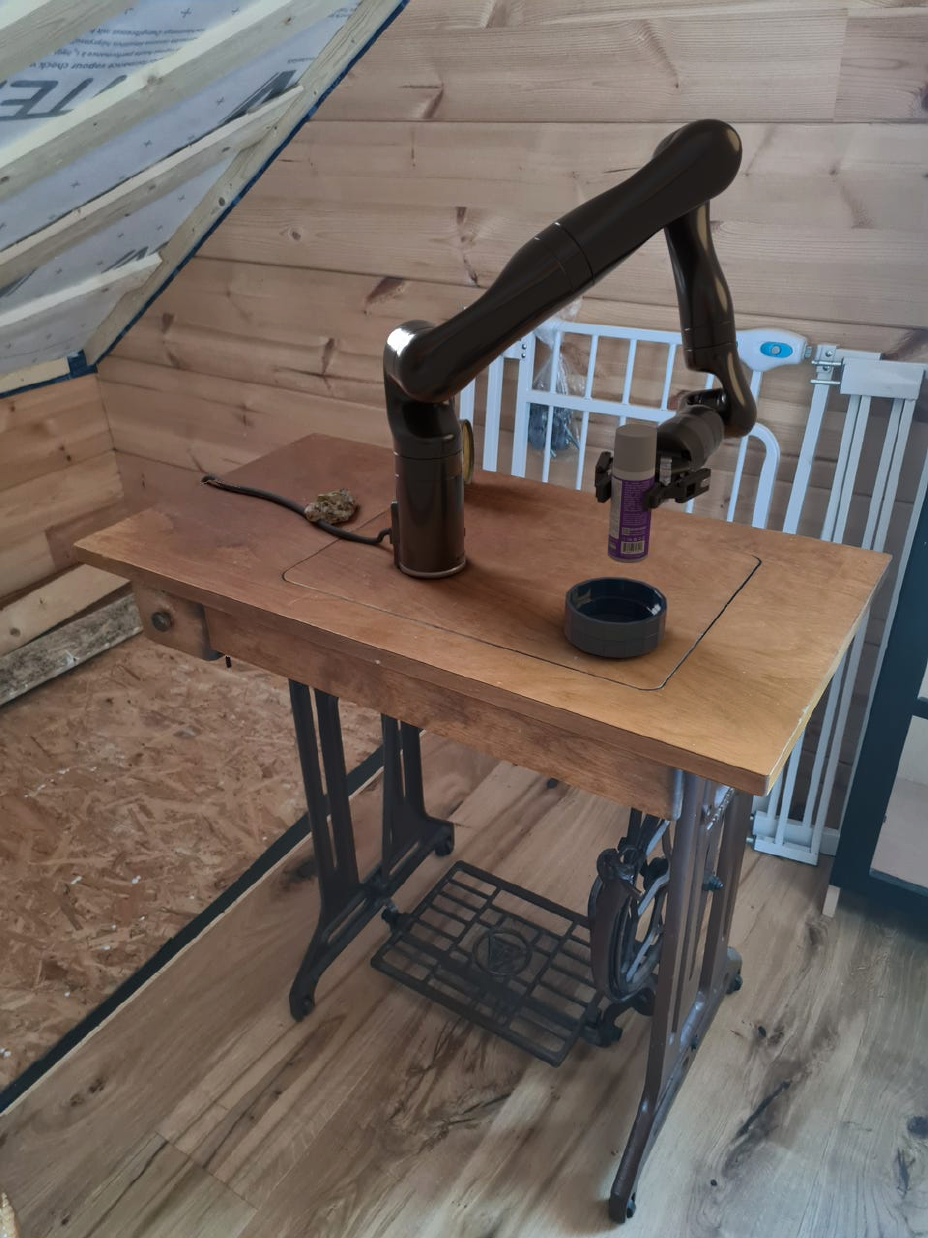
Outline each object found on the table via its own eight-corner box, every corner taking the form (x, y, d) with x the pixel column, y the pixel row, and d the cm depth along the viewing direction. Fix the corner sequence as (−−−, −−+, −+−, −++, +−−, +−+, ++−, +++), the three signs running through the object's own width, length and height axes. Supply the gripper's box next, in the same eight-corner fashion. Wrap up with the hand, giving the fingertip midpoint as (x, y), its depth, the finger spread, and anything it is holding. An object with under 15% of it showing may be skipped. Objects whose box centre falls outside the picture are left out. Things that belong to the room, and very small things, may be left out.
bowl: (547, 645, 111) (548, 609, 108) (588, 603, 120) (590, 569, 117) (641, 671, 105) (645, 634, 103) (677, 625, 114) (680, 590, 112)
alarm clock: (463, 502, 150) (461, 405, 142) (431, 500, 151) (427, 403, 143) (476, 478, 159) (475, 385, 151) (446, 476, 160) (443, 384, 152)
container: (654, 551, 108) (665, 427, 100) (638, 566, 104) (648, 440, 97) (617, 542, 110) (625, 421, 102) (600, 557, 107) (607, 433, 99)
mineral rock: (338, 516, 140) (294, 495, 142) (333, 540, 142) (290, 519, 144) (373, 494, 149) (331, 474, 151) (368, 517, 151) (327, 498, 153)
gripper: (622, 413, 115) (564, 456, 102) (736, 430, 109) (689, 478, 96) (619, 470, 119) (562, 518, 106) (728, 489, 112) (682, 543, 100)
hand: (623, 498), depth 101 cm, fingers closed on container, 4 cm apart
